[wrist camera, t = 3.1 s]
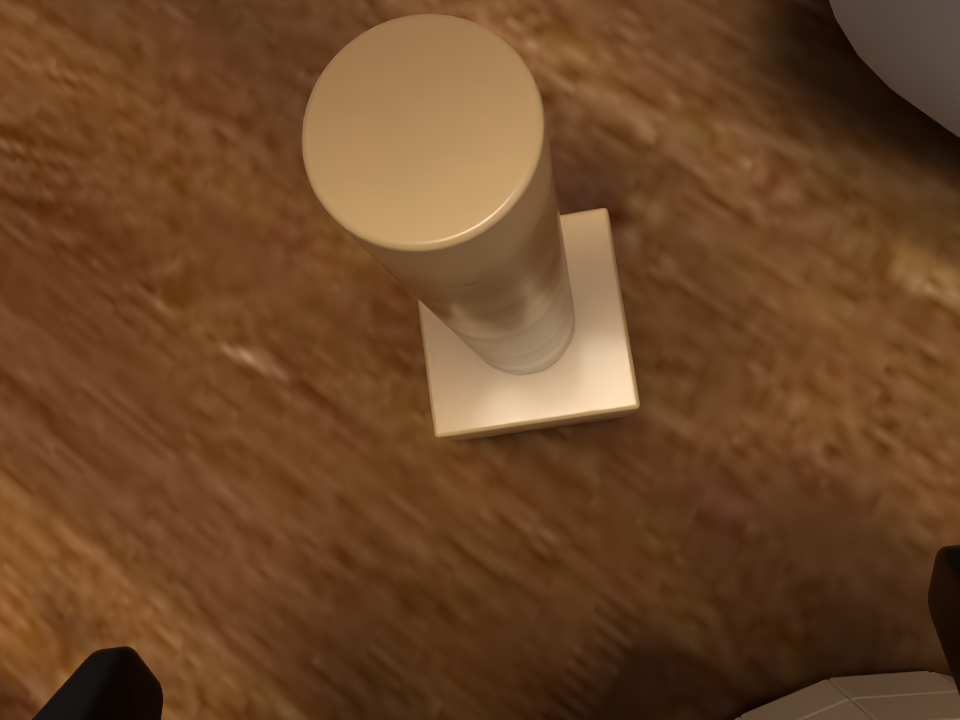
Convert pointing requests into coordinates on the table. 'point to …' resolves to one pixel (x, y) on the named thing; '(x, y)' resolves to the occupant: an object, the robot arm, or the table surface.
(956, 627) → the robot arm
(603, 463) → the table surface
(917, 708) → the bowl
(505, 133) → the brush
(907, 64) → the jar
